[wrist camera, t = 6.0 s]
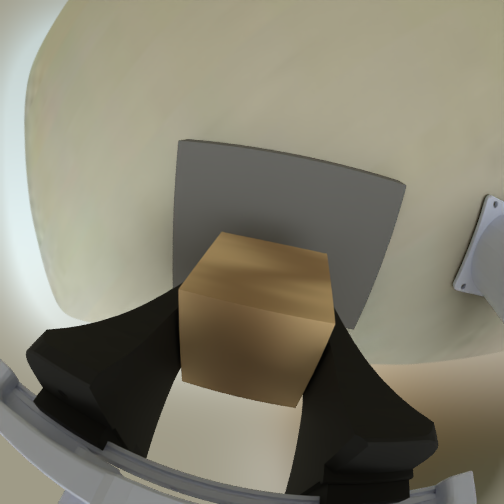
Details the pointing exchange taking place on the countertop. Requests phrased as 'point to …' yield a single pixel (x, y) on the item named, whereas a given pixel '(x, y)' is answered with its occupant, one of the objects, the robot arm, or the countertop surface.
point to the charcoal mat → (285, 211)
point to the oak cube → (255, 319)
